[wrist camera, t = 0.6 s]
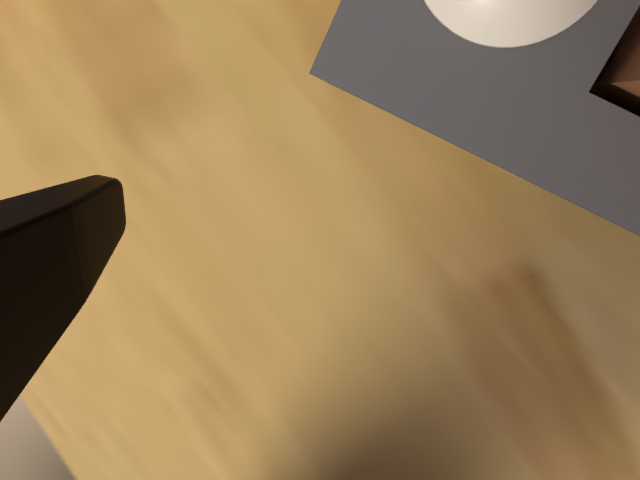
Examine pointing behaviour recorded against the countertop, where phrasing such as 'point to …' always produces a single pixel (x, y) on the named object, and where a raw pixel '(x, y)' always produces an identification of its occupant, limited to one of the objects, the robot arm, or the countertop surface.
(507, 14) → the holder block
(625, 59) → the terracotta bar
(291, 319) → the countertop surface
